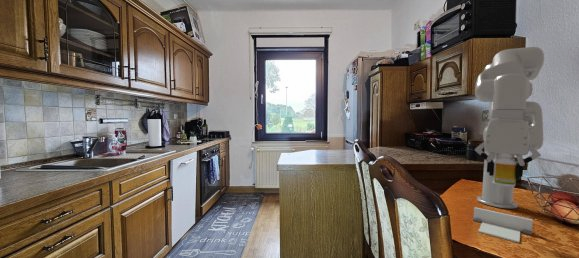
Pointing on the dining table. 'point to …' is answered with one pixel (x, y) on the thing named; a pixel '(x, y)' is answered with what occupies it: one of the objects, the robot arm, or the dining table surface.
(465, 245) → the dining table surface
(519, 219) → the low wall
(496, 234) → the mat
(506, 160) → the supplement bottle
